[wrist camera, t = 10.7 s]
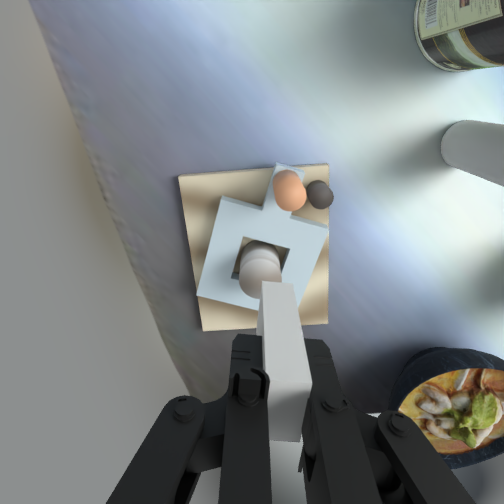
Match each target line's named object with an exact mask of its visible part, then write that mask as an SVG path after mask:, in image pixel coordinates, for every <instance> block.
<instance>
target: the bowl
mask: <svg viewBox="0 0 504 504" xmlns="http://www.w3.org/2000/svg"><path fill="white" fill-rule="evenodd" d="M388 411H397V412H400V413H403V414H405V415H406V416H408V417H409V418H411V419H412V420H413V421H414V422H415V423H416V424H417V425H418V427H419V428H420V429H421V431H422V432H423V433H424V435H425V436H426V437H427V439H428V440H429V441H430V443H431V444H432V445H433V447H434V448H435V449H436V451H437V452H438V453H439V455H440V456H441V457H442V459H443V460H444V461H445V463H446V464H447V465H448V467H449V468H450V469H457V468H461V467H466V466H470V465H473V464H476V463H479V462H482V461H485V460H488V459H491V458H493V457H496V456H498V455H500V454H502V453H504V360H502V359H500V358H498V357H496V356H494V355H491V354H488V353H484V352H480V351H476V350H473V349H457V348H445V347H435V348H430V349H427V350H424V351H422V352H420V353H418V354H416V355H415V356H413V357H412V358H411V359H410V360H409V361H408V363H407V364H406V366H405V368H404V371H403V372H402V373H401V375H400V376H399V378H398V379H397V381H396V383H395V385H394V387H393V389H392V392H391V396H390V400H389V408H388Z"/></svg>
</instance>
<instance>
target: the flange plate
mask: <svg viewBox="0 0 504 504" xmlns="http://www.w3.org/2000/svg"><path fill="white" fill-rule="evenodd" d="M304 175H305V172H304V170H302V169H298V168H295V167H292V166H288V165H285V164H281V163H278V162H276V163H275V167H274V170H273V173H272V176H271V179H270V183H269V186H268V189H267V192H266V196H265V199H264V202H263V205H262V206H258V205H255V204H251V203H248V202H244V201H240V200H237V199H233V198H230V197H226V196H222V198H221V201H220V205H219V209H218V213H217V216H216V220H215V224H214V228H213V232H212V236H211V240H210V244H209V247H208V251H207V255H206V259H205V263H204V267H203V271H202V275H201V278H200V282H199V286H198V290H197V294H196V295H197V296H201V297H205V298H209V299H213V300H217V301H221V302H225V303H229V304H233V305H237V306H241V307H245V308H249V309H253V310H257V311H259V303H260V299H255V298H252V297H250V296H248V295H246V294H245V293H244V292H243V291H242V289H241V287H240V285H239V274H237V273H234V272H233V268H234V265H235V262H236V258H237V255H238V252H239V248H240V245H241V241H242V238H243V236H244V237H248V238H252V239H256V240H259V241H263V242H267V243H271V244H274V245H278V246H282V247H285V248H287V251H286V254H285V256H284V259H283V262H282V265H281V268H280V269H281V276H282V283H293V287H294V292H295V297H296V302H297V307H299V305H300V302H301V300H302V297H303V295H304V292H305V289H306V287H307V284H308V282H309V279H310V277H311V274H312V272H313V269H314V267H315V264H316V262H317V259H318V257H319V254H320V252H321V249H322V247H323V244H324V242H325V239H326V237H327V234H328V232H329V228H328V226H327V224H323V223H319V222H316V221H312V220H309V219H305V218H301V217H298V216H294V215H291V213H292V211H296V210H298V209H300V208H301V207H302V206H303V205H304V203H305V201H306V196H307V195H306V190H305V188H304V186H303V184H302V181H303V178H304Z"/></svg>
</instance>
